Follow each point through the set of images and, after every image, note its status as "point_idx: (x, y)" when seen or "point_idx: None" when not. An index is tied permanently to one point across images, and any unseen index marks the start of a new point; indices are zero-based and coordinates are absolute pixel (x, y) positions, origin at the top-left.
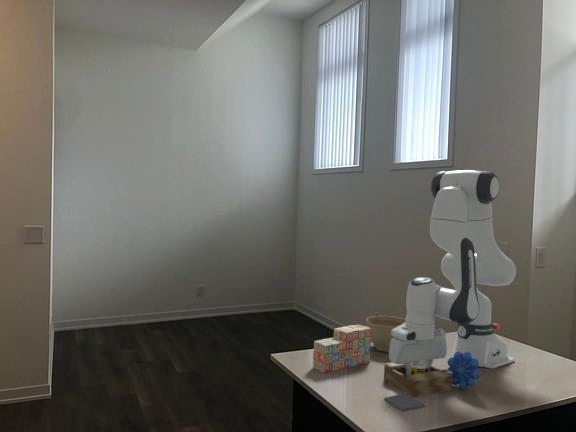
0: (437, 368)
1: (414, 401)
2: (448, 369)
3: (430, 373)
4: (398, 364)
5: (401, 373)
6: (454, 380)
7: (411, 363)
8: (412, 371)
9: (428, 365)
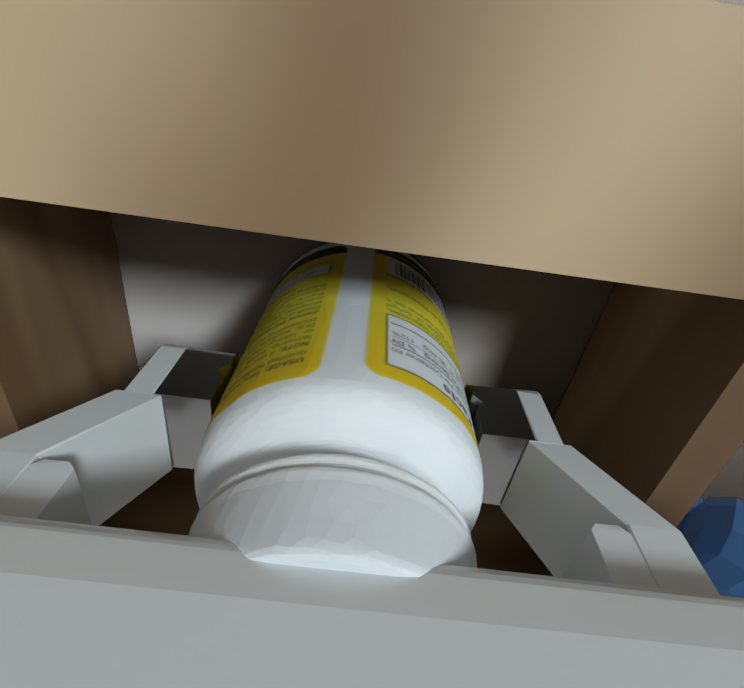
0: (689, 496)
1: None
2: (721, 593)
3: None
4: (66, 141)
5: (6, 398)
6: None
7: (232, 449)
8: (195, 458)
9: (535, 535)
